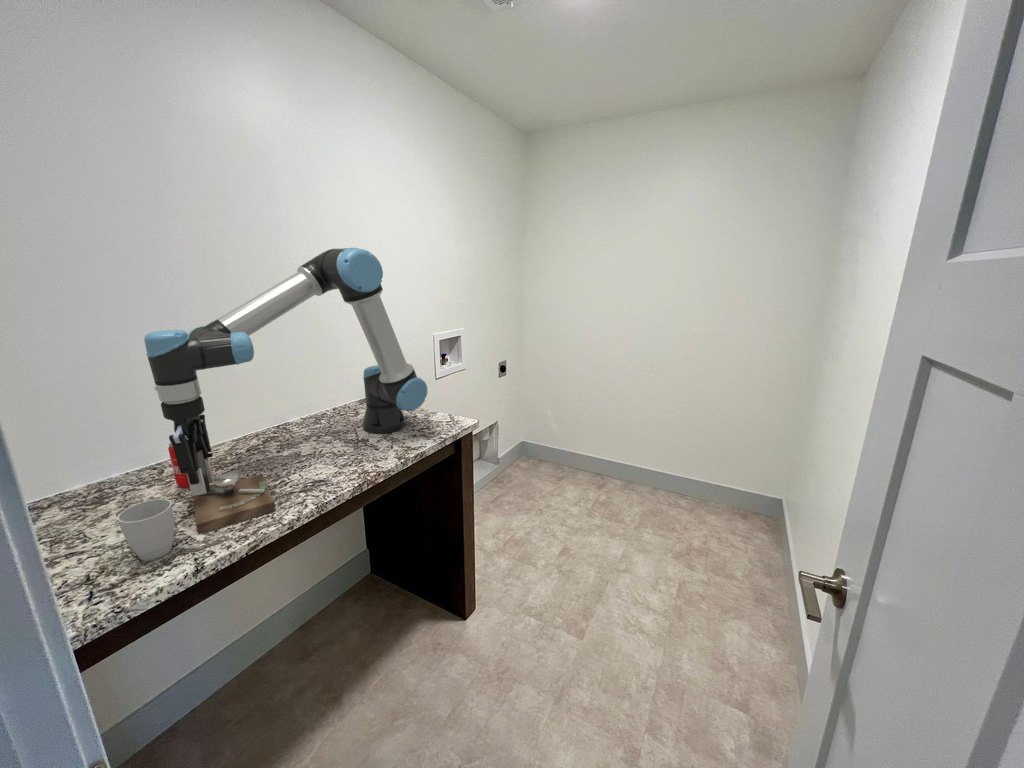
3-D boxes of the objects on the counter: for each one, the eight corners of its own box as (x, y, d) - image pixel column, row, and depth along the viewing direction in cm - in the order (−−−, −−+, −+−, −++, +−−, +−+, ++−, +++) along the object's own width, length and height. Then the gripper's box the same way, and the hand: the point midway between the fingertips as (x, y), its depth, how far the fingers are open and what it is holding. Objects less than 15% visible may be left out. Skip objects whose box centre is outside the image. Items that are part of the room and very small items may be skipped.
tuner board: (263, 482, 112) (262, 473, 111) (275, 511, 99) (273, 500, 98) (195, 500, 103) (193, 490, 102) (198, 534, 90) (195, 523, 89)
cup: (150, 540, 88) (139, 499, 85) (190, 539, 88) (180, 498, 86) (118, 567, 80) (105, 523, 77) (162, 565, 81) (151, 521, 78)
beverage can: (205, 480, 112) (197, 440, 109) (186, 490, 107) (176, 448, 104) (192, 477, 113) (183, 437, 110) (172, 486, 109) (162, 445, 105)
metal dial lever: (206, 487, 103) (198, 446, 100) (269, 487, 104) (262, 447, 101) (192, 498, 99) (182, 455, 96) (257, 498, 99) (250, 456, 96)
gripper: (178, 388, 100) (199, 473, 107) (141, 414, 84) (169, 511, 91) (213, 386, 102) (232, 469, 109) (184, 410, 86) (208, 505, 93)
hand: (203, 488), depth 100 cm, fingers open, 4 cm apart
